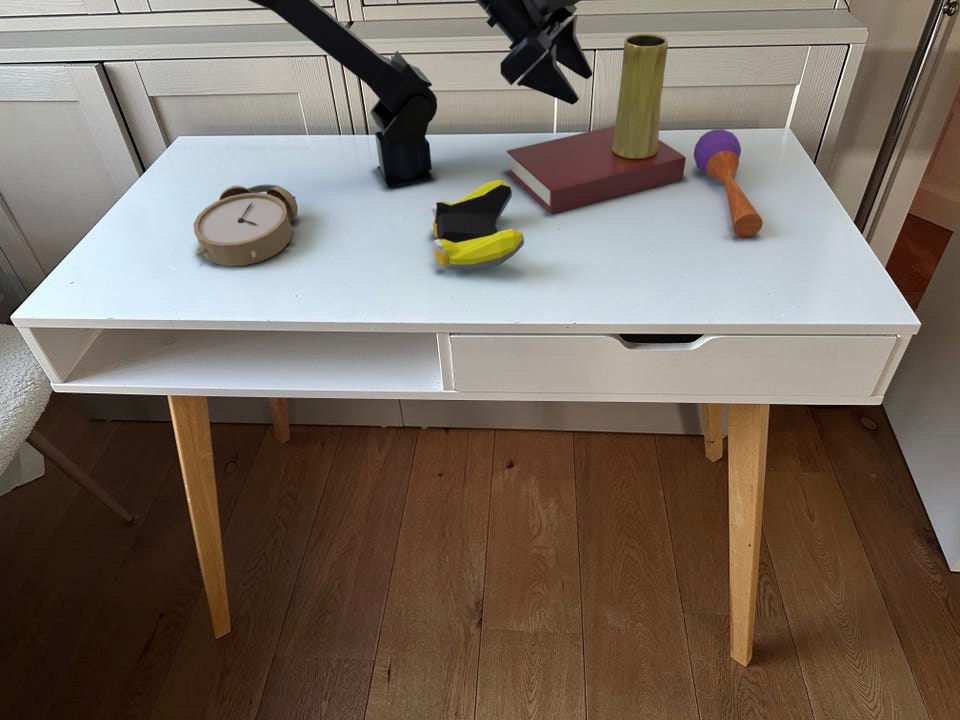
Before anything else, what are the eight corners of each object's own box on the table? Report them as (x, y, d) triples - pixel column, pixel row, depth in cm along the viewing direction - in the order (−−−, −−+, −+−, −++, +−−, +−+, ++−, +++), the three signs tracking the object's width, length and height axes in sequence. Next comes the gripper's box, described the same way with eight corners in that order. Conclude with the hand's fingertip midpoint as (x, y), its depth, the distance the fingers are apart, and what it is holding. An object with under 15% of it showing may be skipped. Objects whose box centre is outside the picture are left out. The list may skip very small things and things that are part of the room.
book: (551, 214, 92) (552, 190, 90) (507, 172, 101) (506, 150, 99) (682, 179, 97) (686, 157, 95) (629, 143, 107) (631, 121, 104)
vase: (647, 163, 94) (660, 50, 85) (604, 154, 97) (612, 44, 87) (664, 145, 98) (678, 35, 89) (622, 137, 100) (632, 29, 91)
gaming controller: (510, 213, 92) (432, 220, 92) (509, 174, 89) (428, 180, 88) (526, 279, 81) (437, 287, 80) (526, 237, 77) (433, 244, 77)
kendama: (721, 209, 83) (689, 126, 97) (721, 250, 87) (690, 164, 101) (775, 199, 82) (735, 117, 96) (773, 241, 86) (734, 156, 100)
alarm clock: (176, 245, 84) (222, 167, 93) (192, 275, 88) (235, 197, 97) (266, 249, 82) (305, 169, 92) (279, 280, 86) (314, 200, 96)
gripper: (526, -39, 78) (619, 72, 82) (563, -73, 91) (642, 24, 96) (461, 33, 85) (550, 132, 89) (505, -8, 98) (580, 79, 103)
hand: (583, 88), depth 94 cm, fingers open, 9 cm apart
